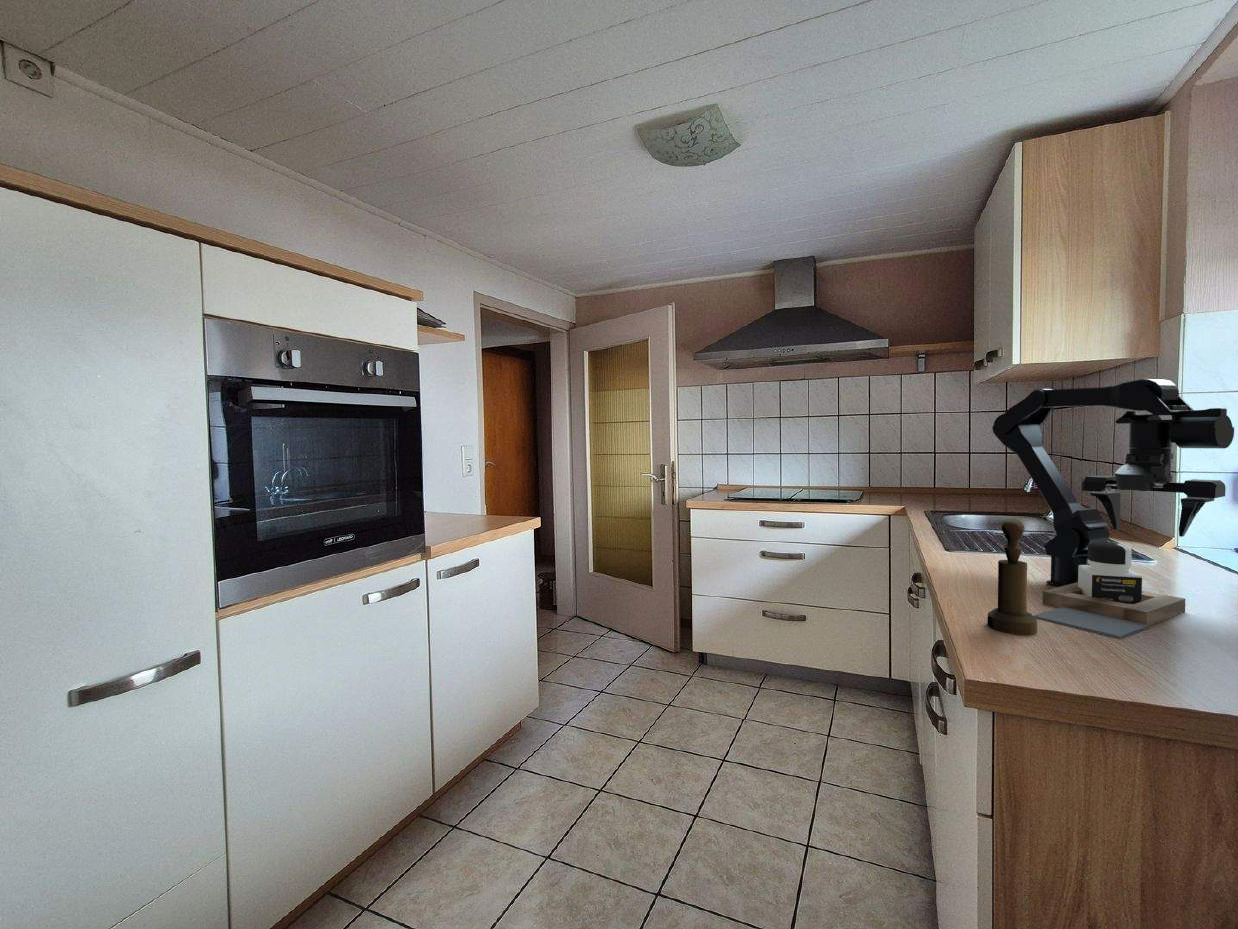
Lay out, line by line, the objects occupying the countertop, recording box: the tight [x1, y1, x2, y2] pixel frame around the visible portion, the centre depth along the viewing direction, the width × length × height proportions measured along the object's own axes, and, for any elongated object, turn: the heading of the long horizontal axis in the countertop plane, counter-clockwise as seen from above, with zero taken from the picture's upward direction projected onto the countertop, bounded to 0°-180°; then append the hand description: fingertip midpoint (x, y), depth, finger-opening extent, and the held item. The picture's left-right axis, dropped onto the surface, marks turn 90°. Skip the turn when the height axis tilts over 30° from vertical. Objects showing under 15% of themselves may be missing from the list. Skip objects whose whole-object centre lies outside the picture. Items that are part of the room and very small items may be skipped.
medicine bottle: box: [1078, 541, 1143, 605], centre depth 105 cm, size 7×7×12 cm
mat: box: [1032, 607, 1150, 640], centre depth 95 cm, size 12×10×1 cm
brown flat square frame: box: [1042, 582, 1186, 627], centre depth 103 cm, size 15×15×2 cm
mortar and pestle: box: [986, 518, 1038, 636], centre depth 93 cm, size 7×6×18 cm
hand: (1147, 533), depth 106 cm, fingers open, 9 cm apart
